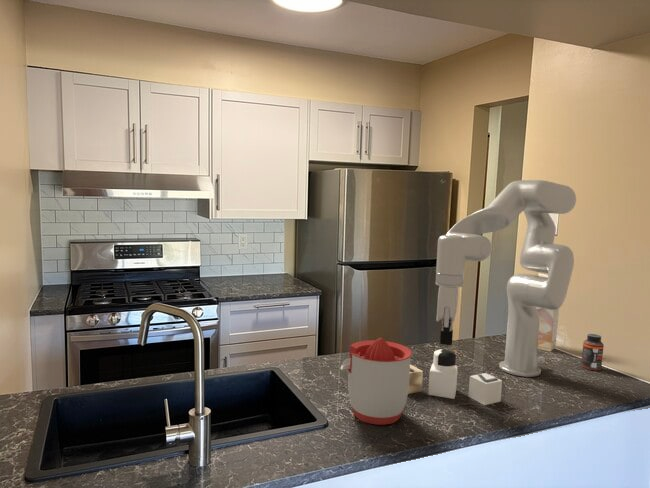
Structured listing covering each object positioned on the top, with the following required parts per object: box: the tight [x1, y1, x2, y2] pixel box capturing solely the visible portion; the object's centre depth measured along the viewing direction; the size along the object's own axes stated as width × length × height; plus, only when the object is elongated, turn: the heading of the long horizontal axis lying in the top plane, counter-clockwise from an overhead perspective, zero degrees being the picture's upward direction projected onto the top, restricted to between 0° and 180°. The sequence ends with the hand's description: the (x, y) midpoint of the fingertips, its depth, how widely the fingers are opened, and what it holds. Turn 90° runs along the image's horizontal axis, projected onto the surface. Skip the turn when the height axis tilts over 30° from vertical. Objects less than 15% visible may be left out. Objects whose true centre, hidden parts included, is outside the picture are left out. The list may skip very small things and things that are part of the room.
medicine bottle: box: [427, 348, 459, 400], centre depth 134 cm, size 7×7×12 cm
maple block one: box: [408, 364, 424, 395], centre depth 136 cm, size 6×6×6 cm
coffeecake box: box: [535, 306, 560, 353], centre depth 181 cm, size 15×7×20 cm, turn 50°
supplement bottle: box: [581, 333, 605, 372], centre depth 159 cm, size 6×6×11 cm
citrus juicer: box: [340, 337, 413, 426], centre depth 118 cm, size 16×17×20 cm
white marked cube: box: [468, 372, 503, 406], centre depth 131 cm, size 6×6×6 cm
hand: (446, 343), depth 134 cm, fingers closed
